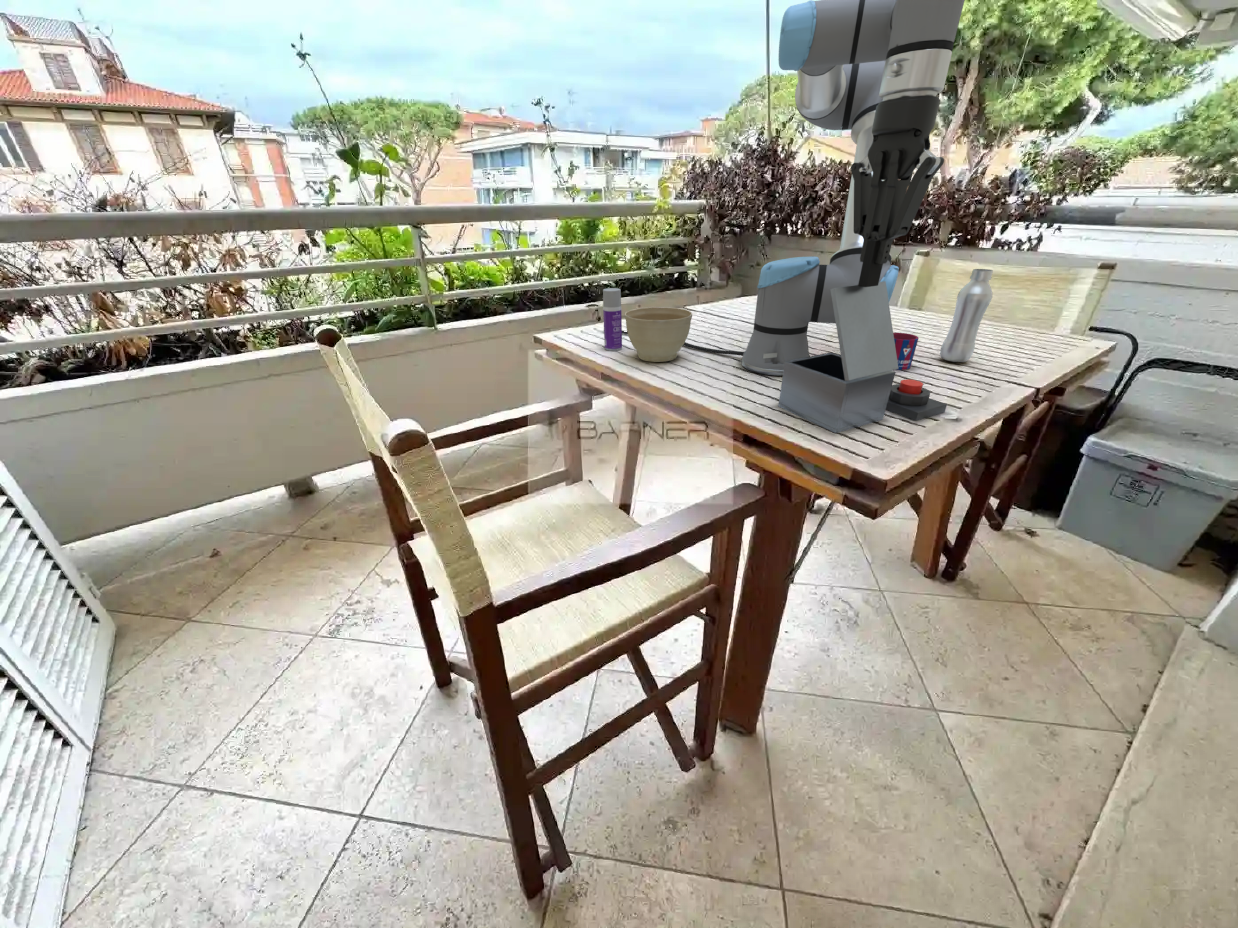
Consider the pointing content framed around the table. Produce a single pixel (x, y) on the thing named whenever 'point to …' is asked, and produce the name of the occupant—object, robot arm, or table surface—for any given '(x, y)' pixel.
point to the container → (612, 319)
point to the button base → (913, 404)
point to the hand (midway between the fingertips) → (868, 285)
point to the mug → (905, 349)
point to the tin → (833, 393)
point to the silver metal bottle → (967, 317)
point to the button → (910, 386)
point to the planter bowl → (658, 331)
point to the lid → (864, 330)
